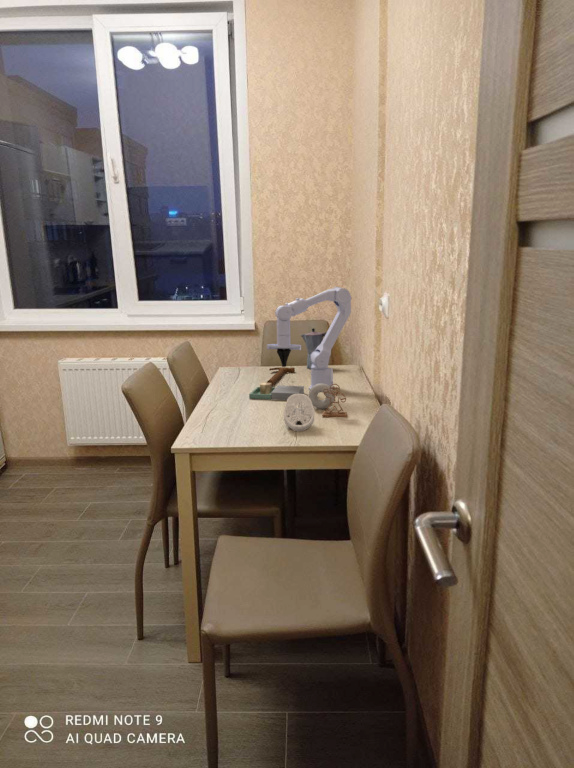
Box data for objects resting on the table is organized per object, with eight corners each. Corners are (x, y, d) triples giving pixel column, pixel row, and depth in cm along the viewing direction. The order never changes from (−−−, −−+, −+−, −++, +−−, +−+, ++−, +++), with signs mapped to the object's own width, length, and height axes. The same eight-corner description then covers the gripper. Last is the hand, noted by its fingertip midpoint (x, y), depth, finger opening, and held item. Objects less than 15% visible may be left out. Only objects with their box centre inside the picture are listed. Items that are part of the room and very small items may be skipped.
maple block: (271, 382, 235) (262, 382, 236) (269, 385, 232) (259, 384, 232) (271, 392, 236) (262, 391, 237) (269, 394, 232) (260, 394, 233)
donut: (307, 409, 211) (307, 384, 209) (309, 407, 215) (309, 381, 212) (334, 410, 209) (334, 384, 207) (335, 408, 213) (335, 382, 210)
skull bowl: (313, 414, 201) (313, 390, 192) (314, 445, 191) (315, 422, 182) (283, 414, 201) (283, 391, 192) (283, 445, 191) (283, 422, 182)
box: (277, 392, 238) (277, 387, 237) (270, 399, 226) (270, 394, 226) (257, 391, 239) (257, 386, 239) (249, 398, 228) (249, 394, 228)
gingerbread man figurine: (346, 414, 205) (347, 382, 202) (346, 417, 201) (347, 385, 198) (322, 414, 205) (322, 382, 203) (322, 417, 202) (322, 385, 199)
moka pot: (302, 365, 289) (301, 327, 284) (332, 365, 287) (332, 327, 282) (300, 369, 280) (299, 329, 275) (331, 370, 277) (331, 329, 273)
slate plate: (303, 393, 235) (303, 386, 234) (298, 400, 224) (298, 393, 223) (278, 392, 237) (278, 385, 237) (271, 399, 226) (271, 392, 225)
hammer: (279, 387, 247) (294, 372, 275) (279, 380, 246) (294, 366, 274) (254, 386, 249) (271, 372, 278) (254, 379, 249) (271, 366, 277)
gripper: (302, 333, 237) (302, 364, 241) (269, 332, 240) (269, 363, 244) (299, 336, 231) (299, 368, 234) (265, 335, 234) (265, 367, 237)
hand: (284, 366), depth 238 cm, fingers closed
